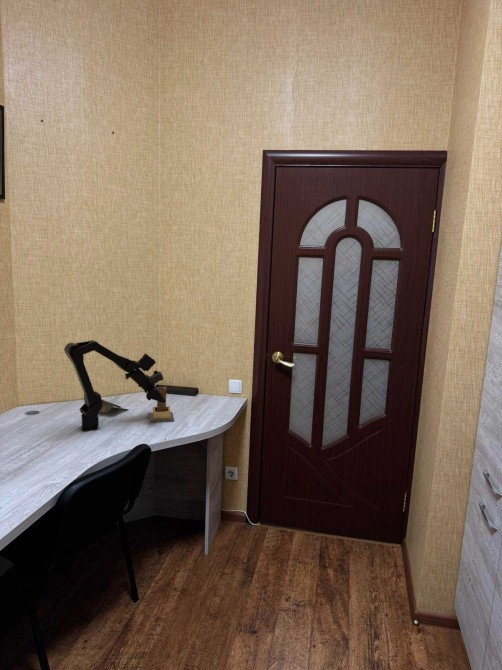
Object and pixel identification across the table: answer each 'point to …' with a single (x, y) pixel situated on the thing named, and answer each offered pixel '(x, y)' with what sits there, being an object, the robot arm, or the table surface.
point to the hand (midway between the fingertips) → (164, 400)
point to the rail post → (161, 405)
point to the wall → (108, 406)
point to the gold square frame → (161, 415)
